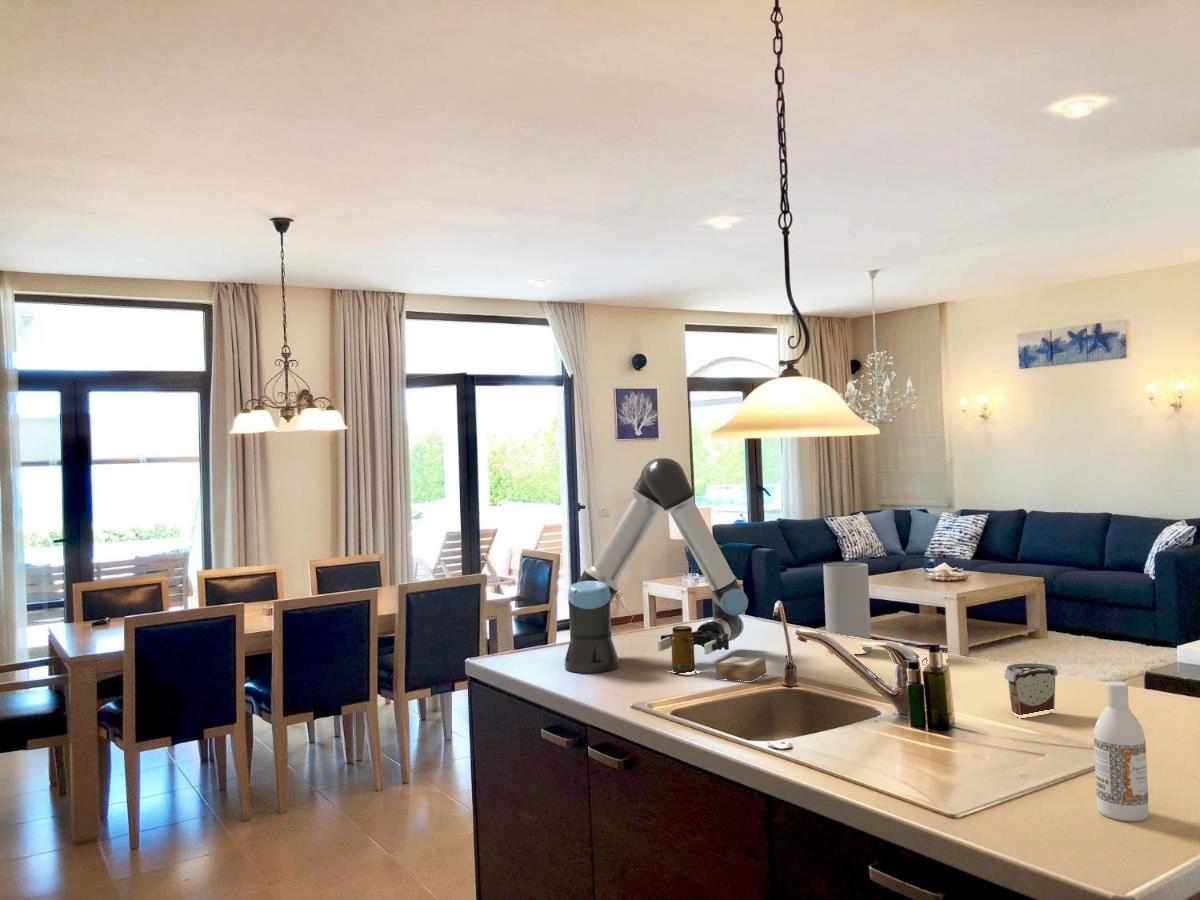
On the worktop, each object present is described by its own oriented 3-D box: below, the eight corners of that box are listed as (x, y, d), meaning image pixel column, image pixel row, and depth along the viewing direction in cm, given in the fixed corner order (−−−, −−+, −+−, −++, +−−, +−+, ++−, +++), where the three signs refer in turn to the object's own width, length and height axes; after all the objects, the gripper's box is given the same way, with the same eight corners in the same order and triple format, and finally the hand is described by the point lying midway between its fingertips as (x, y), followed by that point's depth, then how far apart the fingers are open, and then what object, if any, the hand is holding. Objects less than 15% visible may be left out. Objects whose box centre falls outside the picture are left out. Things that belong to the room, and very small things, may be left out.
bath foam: (1128, 826, 139) (1121, 691, 139) (1087, 810, 145) (1081, 681, 145) (1159, 817, 141) (1153, 685, 142) (1118, 803, 148) (1112, 676, 148)
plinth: (716, 679, 242) (715, 663, 242) (730, 671, 250) (730, 655, 250) (752, 682, 237) (751, 665, 237) (766, 674, 245) (765, 658, 245)
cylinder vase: (823, 647, 277) (819, 563, 277) (865, 646, 276) (861, 561, 277) (831, 656, 264) (828, 568, 265) (876, 655, 264) (872, 566, 264)
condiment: (684, 667, 257) (682, 624, 257) (706, 672, 251) (704, 627, 251) (664, 672, 253) (663, 627, 253) (687, 677, 246) (685, 631, 246)
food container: (1036, 706, 205) (1034, 660, 206) (1059, 712, 200) (1057, 665, 200) (992, 713, 201) (990, 666, 201) (1015, 720, 195) (1013, 672, 195)
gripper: (754, 649, 262) (726, 665, 243) (674, 644, 274) (641, 658, 256) (753, 623, 262) (725, 636, 244) (673, 618, 274) (640, 631, 256)
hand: (682, 647), depth 250 cm, fingers open, 13 cm apart
